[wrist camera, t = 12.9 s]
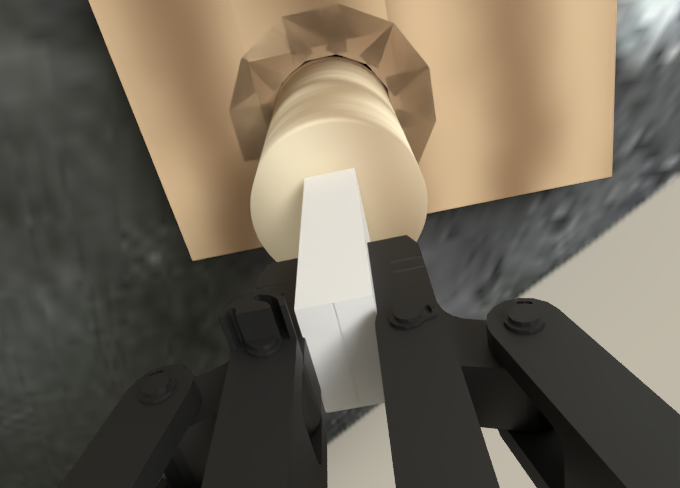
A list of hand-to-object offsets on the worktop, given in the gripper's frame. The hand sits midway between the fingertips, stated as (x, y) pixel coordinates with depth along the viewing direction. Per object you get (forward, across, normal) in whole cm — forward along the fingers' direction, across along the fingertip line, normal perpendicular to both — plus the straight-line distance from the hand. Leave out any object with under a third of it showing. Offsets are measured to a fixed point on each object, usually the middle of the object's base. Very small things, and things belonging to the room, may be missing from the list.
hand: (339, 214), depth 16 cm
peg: (+13, 0, 0) cm, 13 cm away
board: (+14, +2, +2) cm, 14 cm away
